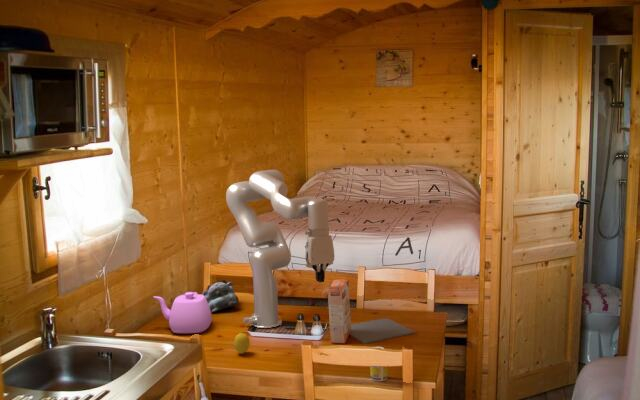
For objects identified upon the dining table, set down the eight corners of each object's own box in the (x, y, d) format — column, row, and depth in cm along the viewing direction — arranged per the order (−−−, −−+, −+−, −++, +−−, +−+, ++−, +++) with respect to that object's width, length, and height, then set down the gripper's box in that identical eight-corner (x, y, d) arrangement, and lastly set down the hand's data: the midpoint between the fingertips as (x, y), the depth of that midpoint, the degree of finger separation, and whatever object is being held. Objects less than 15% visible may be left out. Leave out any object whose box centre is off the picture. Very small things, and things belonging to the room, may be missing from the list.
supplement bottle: (384, 374, 229) (384, 344, 228) (389, 381, 224) (389, 350, 222) (368, 376, 228) (368, 346, 227) (372, 382, 223) (372, 352, 221)
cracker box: (346, 344, 258) (342, 289, 254) (330, 343, 259) (326, 289, 256) (352, 330, 271) (348, 278, 268) (337, 330, 273) (333, 278, 269)
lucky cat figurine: (204, 314, 297) (196, 284, 301) (211, 317, 309) (203, 287, 313) (237, 304, 297) (229, 273, 301) (243, 307, 309) (235, 277, 312)
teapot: (216, 319, 292) (214, 284, 289) (208, 336, 271) (206, 298, 269) (162, 320, 292) (160, 285, 290) (149, 337, 271) (147, 299, 269)
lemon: (234, 351, 253) (233, 330, 252) (250, 350, 254) (249, 329, 252) (234, 357, 248) (233, 335, 247) (249, 356, 248) (249, 334, 247)
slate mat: (364, 343, 258) (364, 342, 258) (337, 328, 276) (337, 327, 276) (414, 333, 269) (414, 331, 269) (386, 319, 286) (386, 317, 286)
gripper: (305, 236, 248) (306, 286, 251) (341, 231, 255) (342, 280, 258) (295, 233, 255) (297, 282, 257) (331, 229, 262) (333, 276, 264)
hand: (320, 281), depth 257 cm, fingers closed
